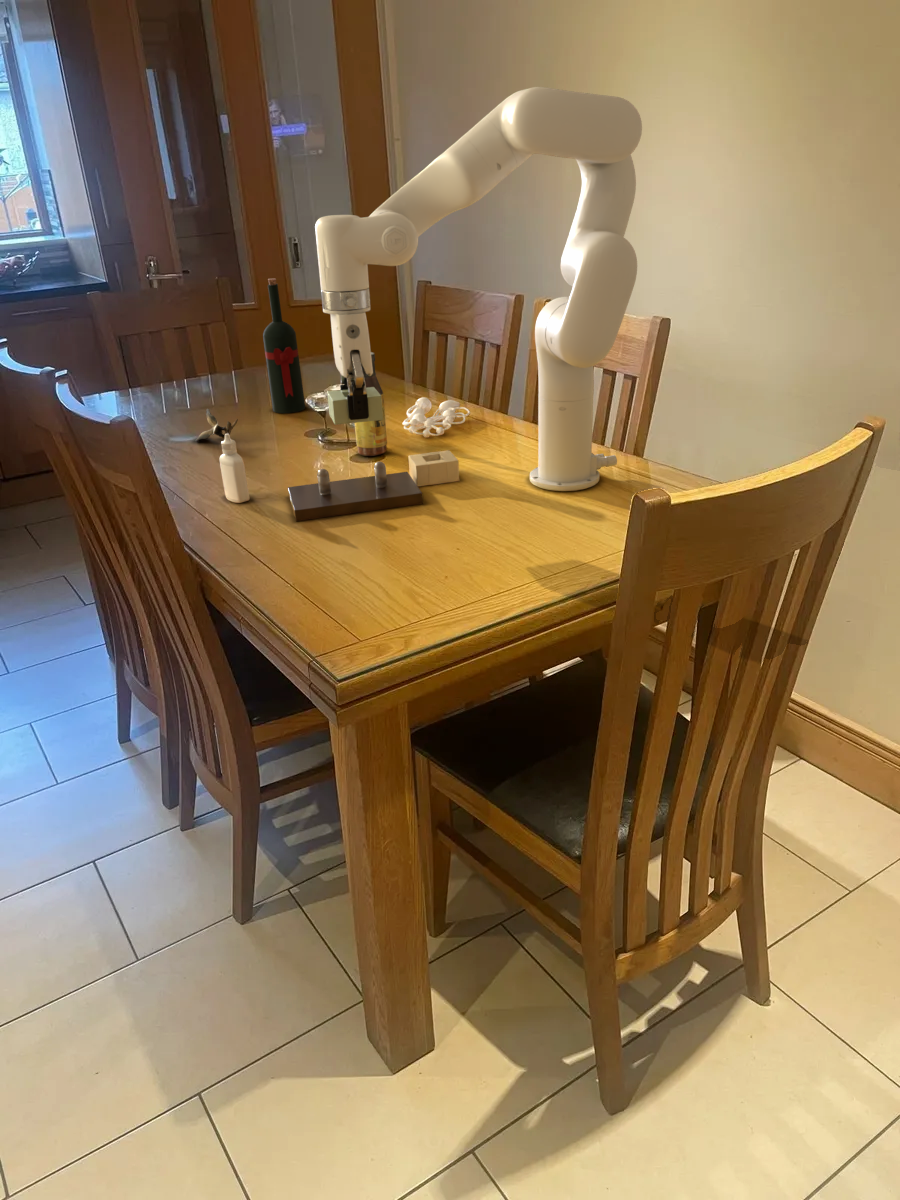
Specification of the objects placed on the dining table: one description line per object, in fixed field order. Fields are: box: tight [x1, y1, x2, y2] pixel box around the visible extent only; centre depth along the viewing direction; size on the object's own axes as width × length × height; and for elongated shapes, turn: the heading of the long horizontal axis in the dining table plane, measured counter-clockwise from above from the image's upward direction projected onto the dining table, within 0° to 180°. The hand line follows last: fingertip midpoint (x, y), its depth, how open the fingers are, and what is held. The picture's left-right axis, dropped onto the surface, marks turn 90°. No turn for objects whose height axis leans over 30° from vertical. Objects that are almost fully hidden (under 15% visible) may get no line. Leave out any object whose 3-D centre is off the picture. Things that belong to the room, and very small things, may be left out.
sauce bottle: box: [354, 351, 388, 457], centre depth 172 cm, size 6×6×20 cm
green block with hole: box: [326, 387, 383, 426], centre depth 143 cm, size 8×6×4 cm
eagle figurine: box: [194, 408, 239, 442], centre depth 188 cm, size 8×7×9 cm
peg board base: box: [287, 461, 424, 522], centre depth 151 cm, size 22×12×6 cm, turn 105°
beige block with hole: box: [407, 449, 460, 487], centre depth 160 cm, size 8×6×4 cm
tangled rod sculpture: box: [402, 396, 471, 439], centre depth 190 cm, size 19×14×4 cm
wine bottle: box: [262, 277, 306, 414], centre depth 202 cm, size 8×10×30 cm
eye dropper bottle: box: [218, 433, 250, 504], centre depth 153 cm, size 4×6×12 cm
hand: (355, 412), depth 144 cm, fingers closed on green block with hole, 6 cm apart
